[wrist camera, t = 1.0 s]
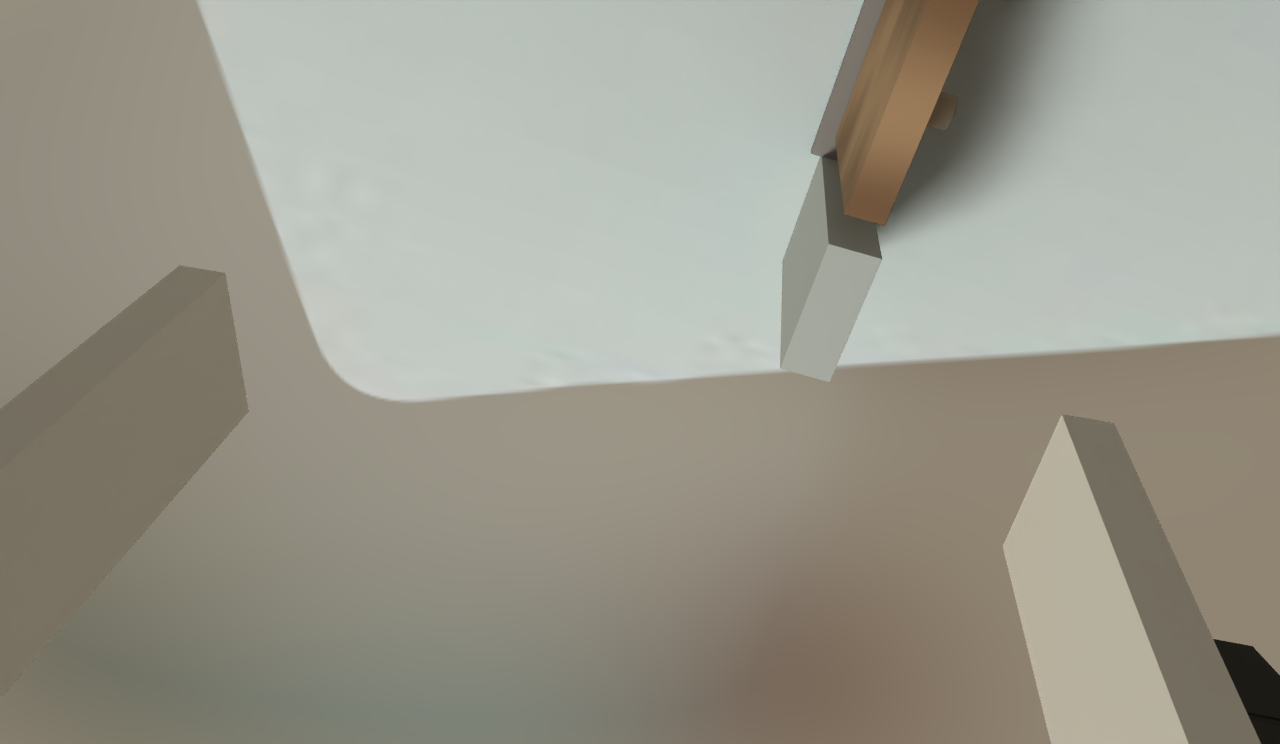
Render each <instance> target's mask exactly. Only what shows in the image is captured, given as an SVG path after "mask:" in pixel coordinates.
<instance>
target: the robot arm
mask: <svg viewBox="0 0 1280 744" xmlns="http://www.w3.org/2000/svg"><path fill="white" fill-rule="evenodd" d="M248 411H249V410H248V404H247V398H246V393H245V387H244V381H243V375H242V369H241V363H240V357H239V351H238V345H237V339H236V333H235V327H234V321H233V316H232V310H231V304H230V298H229V292H228V286H227V280H226V274H225V273H222V272H216V271H210V270H204V269H198V268H192V267H186V266H178V267H177V268H176V269H175V270H173V271H172V272H171V273H170V274H168V275H167V276H166V277H165V278H163V279H162V280H161V281H160V282H158V283H157V284H156V285H155V286H153V287H152V288H151V289H150V290H148V291H147V292H146V293H145V294H143V295H142V296H141V297H140V298H138V299H137V300H136V301H135V302H133V303H132V304H131V305H130V306H128V307H127V308H126V309H125V310H123V311H122V312H121V313H120V314H118V315H117V316H116V317H115V318H113V319H112V320H111V321H110V322H108V323H107V324H106V325H105V326H103V327H102V328H101V329H100V330H98V331H97V332H96V333H95V334H94V335H92V336H91V337H90V338H88V339H87V340H86V341H85V342H84V343H82V344H81V345H80V346H78V347H77V348H76V349H75V350H73V351H72V352H71V353H70V354H68V355H67V356H66V357H65V358H63V359H62V360H61V361H60V362H58V363H57V364H56V365H55V366H53V367H52V368H51V369H50V370H48V371H47V372H46V373H45V374H43V375H42V376H41V377H40V378H39V379H37V380H36V381H35V382H33V383H32V384H31V385H30V386H28V387H27V388H26V389H25V390H23V391H22V392H21V393H20V394H18V395H17V396H16V397H15V398H13V399H12V400H11V401H10V402H9V403H7V404H6V405H5V406H3V407H2V408H1V409H0V699H1V698H2V696H3V695H4V694H5V693H6V692H7V691H8V690H9V688H10V687H11V686H12V685H13V684H14V683H15V681H16V680H17V679H18V678H19V677H20V676H21V675H22V673H23V672H24V671H25V670H26V669H27V668H28V666H29V665H30V664H31V663H32V662H33V661H34V659H35V658H36V657H37V656H38V655H39V654H40V653H41V651H42V650H43V649H44V648H45V647H46V646H47V644H48V643H49V642H50V641H51V640H52V639H53V637H54V636H55V635H56V634H57V633H58V632H59V631H60V629H61V628H62V627H63V626H64V624H66V622H67V621H68V620H69V619H70V618H71V617H72V615H73V614H74V613H75V612H76V611H77V610H78V608H79V607H80V606H81V605H82V604H83V602H84V601H85V600H86V599H87V598H88V597H89V596H90V595H91V593H92V592H93V591H94V590H95V589H96V588H97V586H98V585H99V584H100V583H101V582H102V581H103V579H104V578H105V577H106V576H107V575H108V574H109V573H110V571H111V570H112V569H113V568H114V567H115V566H116V564H117V563H118V562H119V561H120V560H121V559H122V558H123V556H124V555H125V554H126V553H127V552H128V550H129V549H130V548H131V547H132V546H133V545H134V543H136V541H137V540H138V539H139V538H140V537H141V536H142V534H143V533H144V532H145V531H146V530H147V529H148V527H149V526H150V525H151V524H152V523H153V522H154V520H155V519H156V518H157V517H158V516H159V515H160V514H161V512H162V511H163V510H164V509H165V507H167V505H168V504H169V503H170V502H171V501H172V500H173V498H174V497H175V496H176V495H177V494H178V493H179V492H180V490H181V489H182V488H183V487H184V486H185V485H186V483H187V482H188V481H189V480H190V479H191V478H192V476H193V475H194V474H195V473H196V472H197V471H198V470H199V468H200V467H201V466H202V465H203V464H204V463H205V461H206V460H207V459H208V458H209V456H211V454H212V453H213V452H214V451H215V450H216V449H217V448H218V446H219V445H220V444H221V443H222V442H223V441H224V439H225V438H226V437H227V436H228V435H229V434H230V432H231V431H232V430H233V429H234V428H235V426H237V424H238V423H239V422H240V421H241V420H242V419H243V417H244V416H245V415H246V414H247V413H248ZM1003 549H1004V553H1005V557H1006V562H1007V565H1008V570H1009V574H1010V578H1011V582H1012V586H1013V590H1014V594H1015V598H1016V602H1017V607H1018V611H1019V614H1020V619H1021V623H1022V627H1023V631H1024V635H1025V639H1026V643H1027V647H1028V651H1029V656H1030V659H1031V664H1032V668H1033V672H1034V676H1035V680H1036V684H1037V688H1038V692H1039V696H1040V700H1041V704H1042V708H1043V713H1044V717H1045V721H1046V725H1047V729H1048V733H1049V737H1050V741H1051V744H1280V675H1279V674H1278V673H1277V672H1276V671H1275V670H1274V669H1273V668H1272V667H1271V666H1270V665H1269V664H1268V662H1267V661H1266V660H1265V659H1264V658H1263V657H1262V656H1261V655H1260V654H1259V653H1258V652H1257V651H1256V650H1255V649H1254V647H1252V646H1248V645H1242V644H1237V643H1231V642H1226V641H1220V640H1215V639H1213V638H1212V635H1211V634H1210V631H1209V629H1208V627H1207V625H1206V622H1205V620H1204V618H1203V616H1202V614H1201V612H1200V610H1199V607H1198V605H1197V603H1196V601H1195V598H1194V596H1193V594H1192V592H1191V590H1190V588H1189V586H1188V583H1187V581H1186V579H1185V577H1184V574H1183V572H1182V570H1181V568H1180V566H1179V564H1178V561H1177V559H1176V557H1175V555H1174V553H1173V550H1172V548H1171V546H1170V544H1169V542H1168V540H1167V537H1166V535H1165V533H1164V531H1163V529H1162V527H1161V524H1160V522H1159V520H1158V518H1157V516H1156V513H1155V511H1154V509H1153V507H1152V505H1151V502H1150V500H1149V498H1148V496H1147V494H1146V492H1145V489H1144V487H1143V485H1142V483H1141V481H1140V479H1139V476H1138V474H1137V472H1136V470H1135V468H1134V466H1133V463H1132V461H1131V459H1130V457H1129V455H1128V452H1127V450H1126V448H1125V446H1124V444H1123V441H1122V439H1121V437H1120V435H1119V433H1118V431H1117V428H1116V426H1115V424H1114V423H1110V422H1104V421H1098V420H1092V419H1087V418H1080V417H1074V416H1069V415H1063V414H1062V415H1061V417H1060V420H1059V422H1058V424H1057V426H1056V429H1055V431H1054V433H1053V435H1052V438H1051V440H1050V442H1049V444H1048V447H1047V449H1046V451H1045V453H1044V456H1043V458H1042V460H1041V462H1040V465H1039V467H1038V469H1037V471H1036V473H1035V476H1034V478H1033V480H1032V482H1031V485H1030V487H1029V489H1028V491H1027V494H1026V496H1025V498H1024V500H1023V503H1022V505H1021V507H1020V509H1019V512H1018V514H1017V516H1016V518H1015V521H1014V523H1013V525H1012V527H1011V530H1010V532H1009V534H1008V536H1007V539H1006V541H1005V543H1004V545H1003Z"/></svg>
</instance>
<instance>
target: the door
mask: <svg viewBox="0 0 1280 744" xmlns="http://www.w3.org/2000/svg"><path fill="white" fill-rule="evenodd" d="M978 2H979V0H886V2H885V5H884V7H883V10H882V13H881V15H880V18H879V21H878V24H877V26H876V29H875V32H874V34H873V37H872V40H871V43H870V45H869V48H868V51H867V53H866V56H865V59H864V62H863V64H862V67H861V70H860V72H859V75H858V78H857V81H856V83H855V86H854V89H853V91H852V94H851V97H850V100H849V102H848V105H847V108H846V110H845V113H844V116H843V119H842V121H841V124H840V127H839V130H838V132H837V135H836V138H835V142H836V150H837V158H838V166H839V175H840V183H841V191H842V199H843V207H844V214H845V215H849V216H852V217H856V218H859V219H863V220H866V221H870V222H873V223H877V224H880V225H884V226H885V223H886V221H887V218H888V216H889V214H890V211H891V209H892V207H893V204H894V202H895V199H896V197H897V195H898V192H899V190H900V188H901V185H902V183H903V180H904V178H905V176H906V173H907V171H908V169H909V166H910V164H911V161H912V159H913V157H914V154H915V152H916V150H917V147H918V145H919V142H920V140H921V138H922V135H923V133H924V131H925V128H926V126H931V127H934V128H938V129H941V130H946V129H947V128H948V126H949V125H950V123H951V121H952V119H953V116H954V113H955V110H956V107H957V101H958V99H957V97H955V96H952V95H948V94H945V93H941V90H942V88H943V85H944V83H945V81H946V78H947V76H948V74H949V71H950V69H951V66H952V64H953V62H954V59H955V57H956V55H957V52H958V50H959V47H960V45H961V43H962V40H963V38H964V36H965V33H966V31H967V28H968V26H969V24H970V21H971V19H972V17H973V14H974V12H975V9H976V7H977V5H978Z"/></svg>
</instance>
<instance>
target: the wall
mask: <svg viewBox="0 0 1280 744" xmlns="http://www.w3.org/2000/svg"><path fill="white" fill-rule="evenodd" d="M885 2H886V0H864V3H863V6H862V8H861V11H860V14H859V17H858V20H857V22H856V25H855V28H854V31H853V34H852V37H851V39H850V42H849V45H848V48H847V51H846V53H845V56H844V59H843V62H842V65H841V67H840V70H839V73H838V76H837V79H836V82H835V84H834V87H833V90H832V93H831V96H830V98H829V101H828V104H827V107H826V110H825V112H824V115H823V118H822V121H821V124H820V126H819V129H818V132H817V135H816V138H815V141H814V143H813V146H812V149H811V154H814V155H818V156H821V157H820V159H819V162H818V165H817V168H816V170H815V173H814V176H813V179H812V181H811V184H810V187H809V190H808V192H807V195H806V198H805V201H804V204H803V206H802V209H801V212H800V215H799V217H798V220H797V223H796V226H795V228H794V231H793V234H792V237H791V239H790V242H789V245H788V248H787V250H786V253H785V256H784V259H783V271H782V314H781V358H780V368H781V369H785V370H788V371H792V372H795V373H799V374H803V375H806V376H809V377H813V378H817V379H820V380H824V381H827V382H830V380H831V377H832V375H833V373H834V370H835V368H836V366H837V363H838V361H839V359H840V356H841V354H842V352H843V349H844V347H845V345H846V342H847V340H848V338H849V335H850V333H851V331H852V328H853V326H854V324H855V321H856V319H857V317H858V314H859V312H860V310H861V307H862V305H863V303H864V300H865V298H866V296H867V293H868V291H869V289H870V286H871V284H872V282H873V279H874V277H875V275H876V272H877V270H878V268H879V265H880V263H881V261H882V256H881V251H880V246H879V240H878V235H877V230H876V225H875V223H873V222H870V221H866V220H863V219H859V218H856V217H852V216H849V215H845V214H844V207H843V199H842V191H841V183H840V175H839V166H838V158H837V150H836V142H835V138H836V135H837V132H838V130H839V127H840V124H841V121H842V119H843V116H844V113H845V110H846V108H847V105H848V102H849V100H850V97H851V94H852V91H853V89H854V86H855V83H856V81H857V78H858V75H859V72H860V70H861V67H862V64H863V62H864V59H865V56H866V53H867V51H868V48H869V45H870V43H871V40H872V37H873V34H874V32H875V29H876V26H877V24H878V21H879V18H880V15H881V13H882V10H883V7H884V5H885Z"/></svg>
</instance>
